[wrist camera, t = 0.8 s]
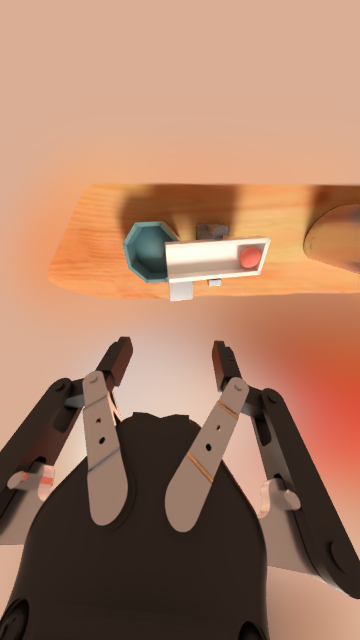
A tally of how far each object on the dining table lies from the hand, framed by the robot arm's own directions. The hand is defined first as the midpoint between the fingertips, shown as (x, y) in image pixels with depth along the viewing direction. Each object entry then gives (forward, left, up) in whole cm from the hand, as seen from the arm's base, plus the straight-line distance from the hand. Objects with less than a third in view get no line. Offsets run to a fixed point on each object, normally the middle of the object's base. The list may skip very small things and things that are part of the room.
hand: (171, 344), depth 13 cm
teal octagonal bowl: (+5, -4, -24) cm, 25 cm away
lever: (-5, -2, -18) cm, 19 cm away
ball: (-12, -4, -14) cm, 19 cm away
